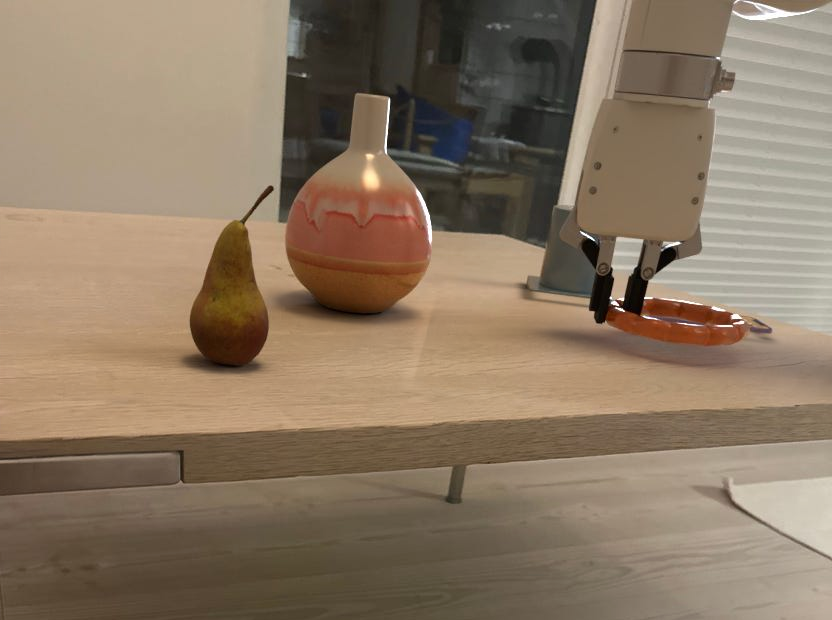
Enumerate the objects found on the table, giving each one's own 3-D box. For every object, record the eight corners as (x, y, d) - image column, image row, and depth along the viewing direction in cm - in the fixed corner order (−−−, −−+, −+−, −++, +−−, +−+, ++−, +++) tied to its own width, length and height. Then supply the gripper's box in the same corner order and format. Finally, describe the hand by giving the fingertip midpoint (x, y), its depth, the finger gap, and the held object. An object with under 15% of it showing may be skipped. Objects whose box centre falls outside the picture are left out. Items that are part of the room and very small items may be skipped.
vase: (261, 308, 84) (271, 83, 75) (306, 284, 96) (320, 87, 86) (406, 332, 82) (434, 103, 73) (435, 305, 93) (463, 104, 84)
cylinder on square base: (602, 293, 109) (621, 210, 104) (610, 308, 101) (631, 219, 96) (526, 283, 109) (541, 200, 105) (528, 298, 102) (545, 209, 97)
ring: (727, 322, 87) (732, 305, 86) (759, 354, 76) (766, 334, 76) (595, 308, 88) (599, 290, 87) (609, 337, 77) (613, 317, 77)
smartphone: (613, 309, 101) (750, 325, 100) (627, 323, 94) (773, 339, 94) (615, 301, 100) (753, 316, 100) (629, 313, 94) (776, 330, 94)
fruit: (219, 347, 71) (223, 174, 65) (281, 364, 69) (291, 186, 63) (172, 360, 67) (171, 176, 61) (235, 378, 64) (242, 189, 58)
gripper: (754, 92, 76) (693, 323, 85) (561, 75, 77) (522, 304, 86) (778, 92, 69) (709, 342, 79) (567, 73, 70) (525, 321, 80)
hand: (612, 320), depth 83 cm, fingers closed on ring, 1 cm apart
